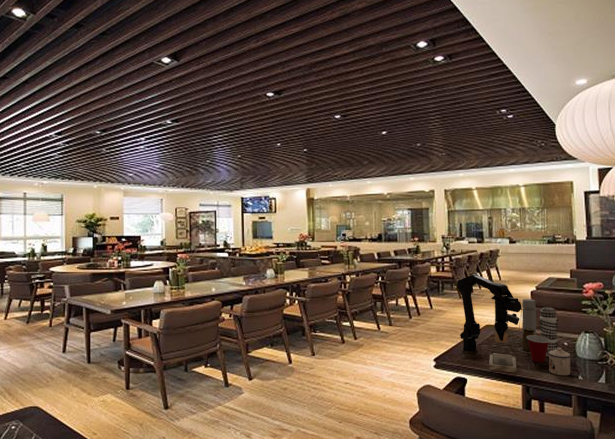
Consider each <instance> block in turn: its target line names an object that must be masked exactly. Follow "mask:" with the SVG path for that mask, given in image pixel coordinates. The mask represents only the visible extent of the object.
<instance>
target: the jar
mask: <svg viewBox="0 0 615 439" xmlns="http://www.w3.org/2000/svg"><path fill="white" fill-rule="evenodd" d="M508 332H509V329H507V330H506V331H505V332H504V337H503V341H500V338H499V336H498V334H497V332H496V329H495V328H494V334H495V335H494V336H495V337H494V338H495V342H496V343H501V344H505V343H506V344H507V343H509V333H508Z"/></svg>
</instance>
